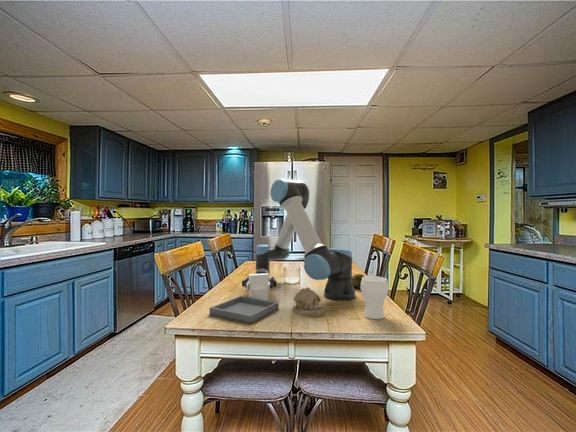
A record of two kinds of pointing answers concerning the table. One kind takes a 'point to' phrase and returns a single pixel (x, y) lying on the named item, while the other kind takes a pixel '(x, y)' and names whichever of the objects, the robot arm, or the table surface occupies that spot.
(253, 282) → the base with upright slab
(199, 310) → the table surface
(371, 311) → the cup
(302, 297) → the ceramic model
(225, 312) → the box
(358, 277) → the potato
